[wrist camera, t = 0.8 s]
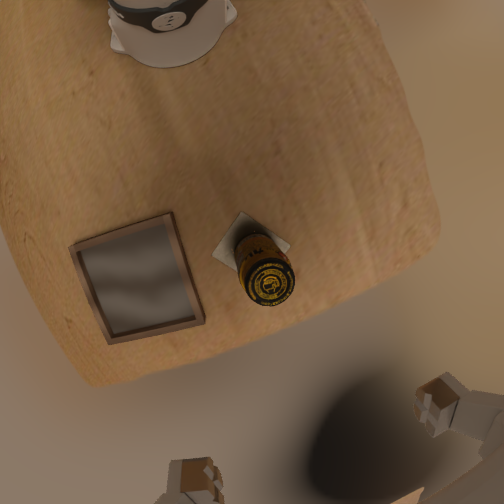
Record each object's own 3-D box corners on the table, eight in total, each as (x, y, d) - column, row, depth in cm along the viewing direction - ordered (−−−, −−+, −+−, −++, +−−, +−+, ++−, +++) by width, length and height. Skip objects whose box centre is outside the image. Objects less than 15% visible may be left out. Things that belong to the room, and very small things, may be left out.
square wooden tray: (74, 243, 37) (68, 247, 35) (172, 211, 38) (169, 213, 36) (112, 337, 41) (108, 345, 39) (205, 316, 42) (205, 323, 40)
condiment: (260, 286, 42) (276, 325, 31) (211, 254, 40) (209, 285, 29) (290, 245, 41) (318, 270, 30) (241, 210, 39) (251, 224, 28)
